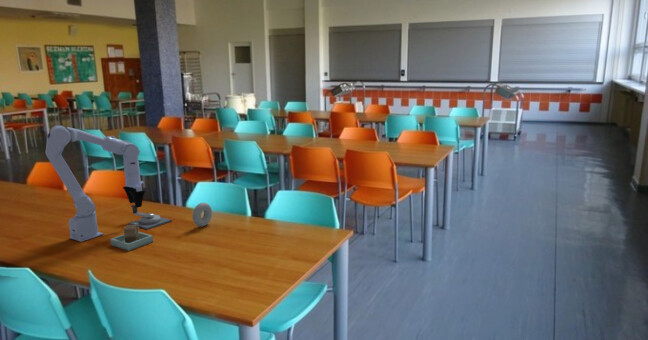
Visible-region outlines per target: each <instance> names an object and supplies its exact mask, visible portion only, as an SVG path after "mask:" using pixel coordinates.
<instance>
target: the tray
mask: <svg viewBox="0 0 648 340" xmlns="http://www.w3.org/2000/svg"><path fill="white" fill-rule="evenodd" d="M138 232H139V240H137V241H134V242H131V243H126V242H125V236H124V234H121V235H118V236H115V237H112V238H110V239H109V240H110V246H112V247H115V248H118V249H120V250H121V249H122V250H125V251H128V252H131V251H132V250H135V249H139V248H141V247H142V246H146V245H149V244H151V243H154V236H153V235H151V234H148V233H145V232H141V231H138Z"/></svg>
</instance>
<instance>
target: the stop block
mask: <svg viewBox="0 0 648 340" xmlns="http://www.w3.org/2000/svg"><path fill="white" fill-rule="evenodd" d="M139 232H140V231H139V227H138V225H129V224H126V225H125V227H124V228H123V233H124V234H123V235H124V236H125V242H126V243H131V242H134V241H137V240H139Z"/></svg>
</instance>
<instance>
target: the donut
mask: <svg viewBox="0 0 648 340" xmlns="http://www.w3.org/2000/svg"><path fill="white" fill-rule="evenodd" d="M202 213H203V215H202ZM212 216H213V210H212V207H211V205H210V204H209V203H207V202H200V203H198V204H197V205H196V206H195V208H194V209H193V211H192V220H193V221H192V222H193V223H194V225H196V226H197V227H205V226H207V225H208V224H209V223H210V222H211V220H212Z"/></svg>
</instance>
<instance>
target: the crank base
mask: <svg viewBox="0 0 648 340" xmlns="http://www.w3.org/2000/svg"><path fill="white" fill-rule="evenodd" d="M168 223H172V219H169V218H165V217H162V216H161V215H159V214H154V217H153V218H146V217H145V216H140V218H139V219H137V220H134V221H131V222H129V223H128V225H138V228H140V229H144V230H152V229H154V228H157V227H160V226H163V225H165V224H168Z"/></svg>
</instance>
